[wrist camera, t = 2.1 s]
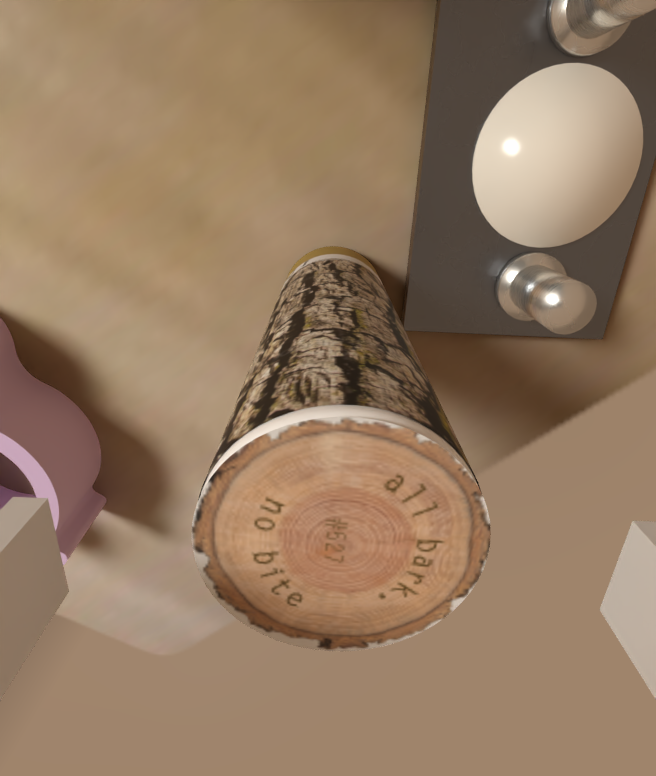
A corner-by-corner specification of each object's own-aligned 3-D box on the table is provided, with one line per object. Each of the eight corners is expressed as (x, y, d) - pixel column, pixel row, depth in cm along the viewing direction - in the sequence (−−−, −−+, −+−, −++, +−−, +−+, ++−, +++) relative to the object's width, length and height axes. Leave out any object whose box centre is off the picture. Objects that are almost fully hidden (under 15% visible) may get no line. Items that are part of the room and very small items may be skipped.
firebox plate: (440, -26, 27) (444, -35, 25) (691, -12, 27) (706, -20, 26) (401, 325, 35) (403, 330, 34) (593, 334, 35) (602, 339, 34)
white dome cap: (487, 58, 27) (489, 57, 27) (663, 68, 27) (666, 67, 27) (459, 243, 31) (460, 243, 31) (612, 250, 31) (615, 251, 31)
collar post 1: (501, 250, 31) (538, 266, 26) (568, 253, 31) (619, 270, 26) (489, 316, 33) (521, 344, 28) (553, 318, 33) (597, 347, 28)
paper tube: (387, 248, 33) (524, 428, 10) (375, 344, 35) (460, 659, 12) (286, 240, 32) (184, 403, 9) (282, 337, 35) (195, 643, 12)
